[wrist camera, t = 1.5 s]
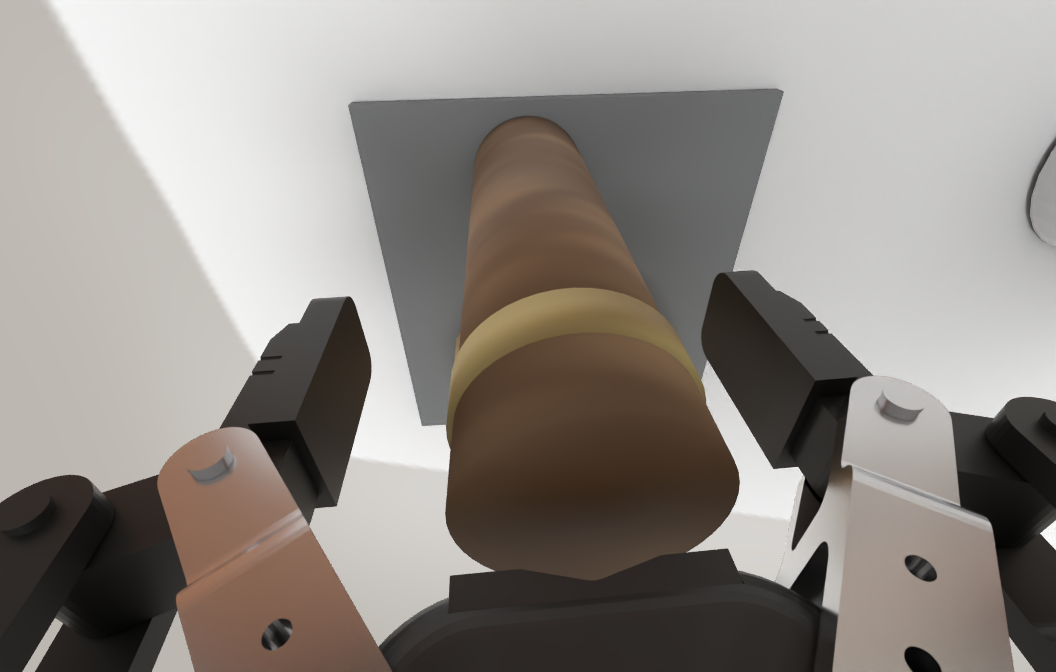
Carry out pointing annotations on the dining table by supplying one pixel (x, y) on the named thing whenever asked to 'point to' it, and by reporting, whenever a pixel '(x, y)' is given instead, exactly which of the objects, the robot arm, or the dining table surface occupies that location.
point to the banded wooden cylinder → (570, 382)
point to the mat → (618, 172)
